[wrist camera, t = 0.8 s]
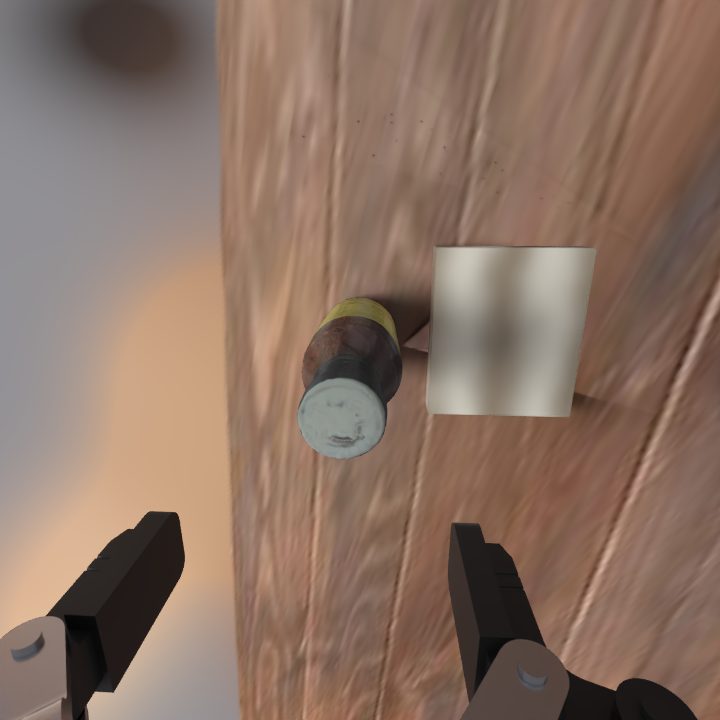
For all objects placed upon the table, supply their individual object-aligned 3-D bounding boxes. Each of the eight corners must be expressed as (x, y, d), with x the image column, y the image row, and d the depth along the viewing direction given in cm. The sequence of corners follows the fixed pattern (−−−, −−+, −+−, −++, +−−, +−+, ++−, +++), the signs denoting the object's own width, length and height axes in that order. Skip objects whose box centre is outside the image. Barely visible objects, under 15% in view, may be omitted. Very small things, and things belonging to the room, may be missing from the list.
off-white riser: (579, 246, 35) (596, 247, 33) (556, 403, 40) (569, 416, 37) (432, 245, 36) (436, 247, 33) (425, 400, 40) (428, 413, 37)
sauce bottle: (371, 375, 39) (358, 515, 20) (312, 339, 39) (242, 451, 20) (411, 315, 37) (437, 409, 19) (350, 277, 37) (312, 333, 18)
